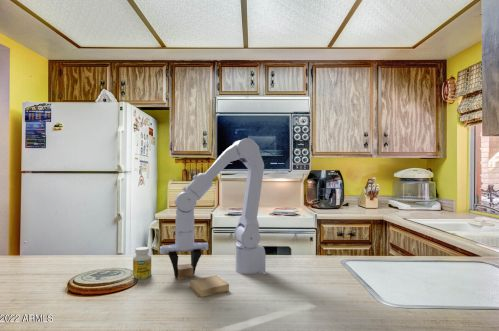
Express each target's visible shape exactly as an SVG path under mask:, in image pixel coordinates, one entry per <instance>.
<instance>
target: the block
mask: <svg viewBox="0 0 499 331" xmlns="http://www.w3.org/2000/svg"><path fill="white" fill-rule="evenodd" d="M193 278H194V275H193V267H192V265H191V263H182V264H178V277H176V279H177V280H186V279H193Z"/></svg>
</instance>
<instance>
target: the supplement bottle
mask: <svg viewBox="0 0 499 331" xmlns="http://www.w3.org/2000/svg"><path fill="white" fill-rule="evenodd" d="M134 252H135V254H134V256H133V257H132V277H133V276H134V277H135V278H136V279H135V280H145V279H149V278H150V277H151V276H152V255H151V254H150V247H149V246H139V247H136V248H135V251H134Z"/></svg>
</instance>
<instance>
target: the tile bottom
mask: <svg viewBox="0 0 499 331" xmlns="http://www.w3.org/2000/svg"><path fill="white" fill-rule="evenodd" d="M192 291H193V292H194V294H195V295H196V297H197V298H202V297H201V296H200V295H199V294H198V293H197V292H195V291H194V290H193V289H192ZM227 293H228V291H225V292H221V293H217V294H212V295H208V296H207V297H210V296H215V295H222V294H227Z"/></svg>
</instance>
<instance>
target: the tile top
mask: <svg viewBox="0 0 499 331" xmlns="http://www.w3.org/2000/svg"><path fill="white" fill-rule="evenodd" d="M189 284H190V286H189V287H190V288H191V289H192V291H193V290H194V291H195V292H197V293H198V294H199V295H200V296H201V297H200V298H204V297H209V296H208V295H210V296H213V295H212V294H217V293H221V292H225V291H227V292H229V291H230V284H229V283H228V282H227V281H225V280H224V279H222V278H221V277H219V276H218V275H210V276H206V277H202V278H197V279H192V280H190V282H189ZM194 291H193V292H194ZM195 292H194V293H195ZM217 295H218V294H217Z"/></svg>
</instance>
